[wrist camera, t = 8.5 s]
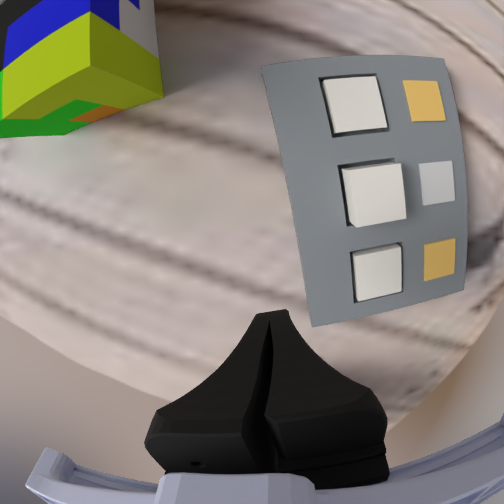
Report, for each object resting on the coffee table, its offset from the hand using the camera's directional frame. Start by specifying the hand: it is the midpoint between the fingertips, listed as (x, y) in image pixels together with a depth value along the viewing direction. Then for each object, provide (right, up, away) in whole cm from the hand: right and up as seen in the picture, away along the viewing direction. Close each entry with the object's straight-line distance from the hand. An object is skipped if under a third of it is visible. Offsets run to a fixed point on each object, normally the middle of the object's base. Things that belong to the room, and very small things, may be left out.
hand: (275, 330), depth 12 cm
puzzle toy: (-13, +19, +6) cm, 24 cm away
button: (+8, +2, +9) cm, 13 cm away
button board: (+9, +8, +8) cm, 14 cm away
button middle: (+7, +7, +6) cm, 12 cm away
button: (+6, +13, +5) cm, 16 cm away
